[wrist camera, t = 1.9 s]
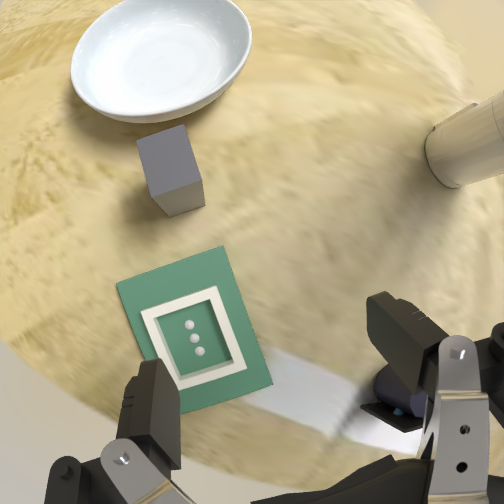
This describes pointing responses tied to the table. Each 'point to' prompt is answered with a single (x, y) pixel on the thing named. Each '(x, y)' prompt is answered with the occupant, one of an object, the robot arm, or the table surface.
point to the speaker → (397, 402)
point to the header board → (197, 329)
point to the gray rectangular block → (171, 171)
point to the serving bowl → (160, 58)
